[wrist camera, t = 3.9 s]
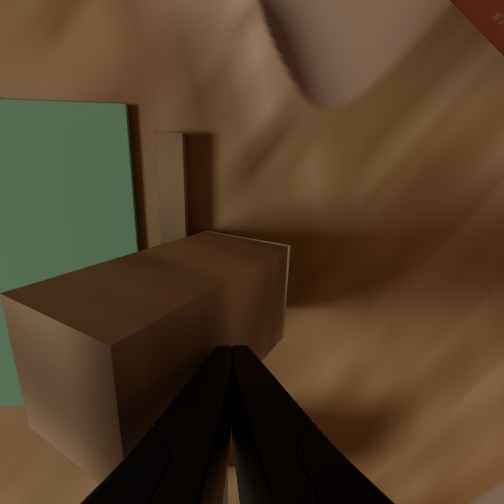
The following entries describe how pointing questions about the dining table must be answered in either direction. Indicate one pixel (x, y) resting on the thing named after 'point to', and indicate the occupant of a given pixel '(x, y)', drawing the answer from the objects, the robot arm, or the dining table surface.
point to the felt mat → (60, 198)
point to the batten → (172, 185)
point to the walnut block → (137, 336)
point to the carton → (485, 18)
